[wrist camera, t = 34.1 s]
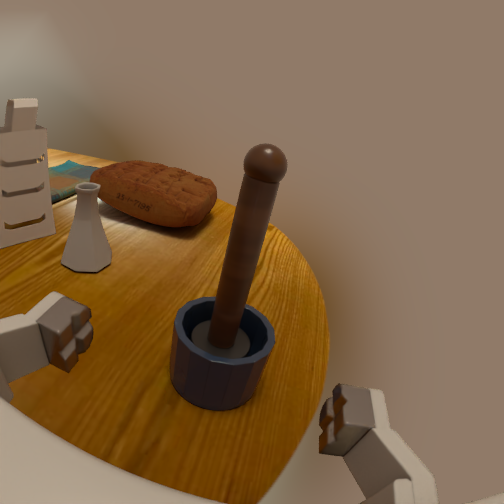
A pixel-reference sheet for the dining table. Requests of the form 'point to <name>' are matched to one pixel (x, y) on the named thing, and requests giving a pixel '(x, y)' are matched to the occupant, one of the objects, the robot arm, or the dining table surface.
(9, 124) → the grater
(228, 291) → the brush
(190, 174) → the cuneiform tablet
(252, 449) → the dining table surface
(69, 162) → the dish towel
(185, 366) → the holder
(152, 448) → the dining table surface
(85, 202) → the flask
